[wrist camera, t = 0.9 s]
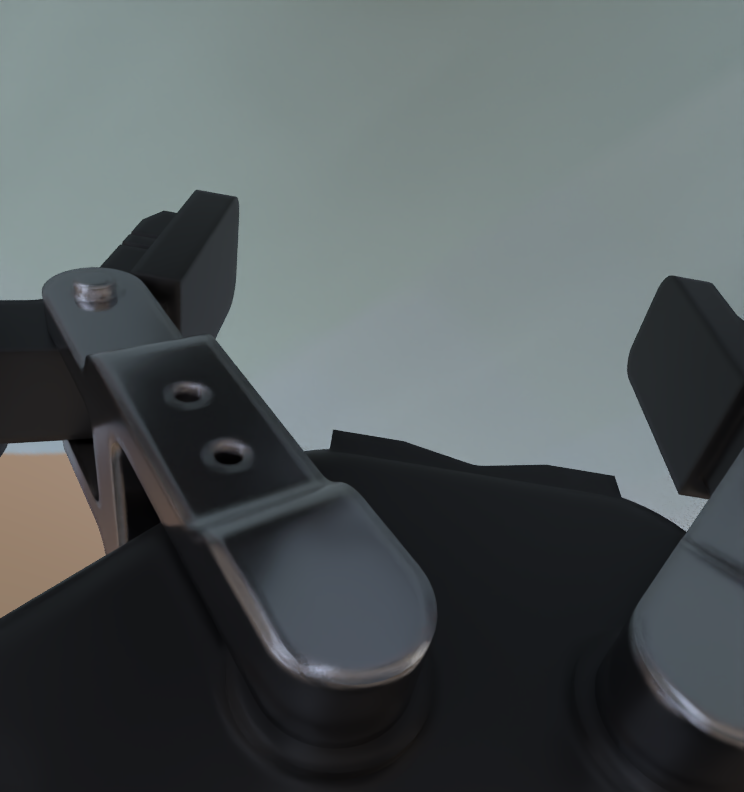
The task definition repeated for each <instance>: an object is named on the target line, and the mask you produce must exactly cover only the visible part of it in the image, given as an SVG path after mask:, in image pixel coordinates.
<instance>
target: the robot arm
mask: <svg viewBox="0 0 744 792" xmlns="http://www.w3.org/2000/svg"><path fill="white" fill-rule="evenodd" d="M238 227H239V201H238V198H237V197H234V196H229V195H223V194H218V193H212V192H206V191H201V190H195V191H194V193H193V194H192V195H191V196H190V198H189V199H188V200H187V201H186V203H185V204H184V205H183V206H182V208H181V209H180V210H179V211H178V213H174V212H168V211H162V212H160V213H157V214H155V215H152V216H150V217H148V218H145V219H143V220H142V221H141V222H140V223H139V224H138V225H137V226H136V227H135V229H134V230H133V231H132V234H129V235H128V236H127V238H126V239H125V240H124V241H123V243H122V245H119V246H118V248H117V249H116V250H115V251H114V252H113V253H112V254H111V255H110V256H109V258H108V259H107V260H106V261H105V262H104V263H103V264H102V265H101V267H89V268H79V269H73V270H69V271H65V272H62V273H60V274H57V275H55V276H53V277H52V278H50V279H49V280H48V281H47V282H46V283H45V284H44V286H43V288H42V298H43V299H39V300H0V457H1V455H2V454H3V452H4V451H5V449H6V447H7V444H8V443H24V442H41V441H58V440H63V446H64V449H65V451H66V454H67V456H68V458H69V461H70V463H71V465H72V467H73V470H74V472H75V474H76V477H77V479H78V481H79V483H80V486H81V488H82V490H83V493H84V495H85V497H86V499H87V502H88V504H89V506H90V508H91V511H92V513H93V515H94V518H95V520H96V522H97V525H98V528H99V531H100V534H101V537H102V541H103V545H104V549H105V554H106V556H104V557H102V558H101V559H99V560H97V561H96V562H94V563H92V564H90V565H89V566H87V567H85V568H84V569H82V570H80V571H79V572H77V573H75V574H74V575H72V576H70V577H69V578H67V579H65V580H64V581H62V582H60V583H59V584H57V585H55V586H54V587H52V588H50V589H48V590H47V591H45V592H44V593H42V594H40V595H38V596H37V597H35V598H33V599H32V600H30V601H28V602H27V603H25V604H23V605H22V606H20V607H18V608H17V609H15V610H13V611H12V612H10V613H8V614H7V615H5V616H3V617H2V618H0V792H744V320H742V319H741V318H740V317H738V316H737V315H736V314H735V312H734V311H733V310H732V308H731V307H730V306H729V304H728V303H727V302H726V300H725V299H724V298H723V297H722V295H721V294H720V293H719V291H718V290H717V289H716V287H715V286H714V285H713V284H712V283H710V282H705V281H700V280H694V279H689V278H683V277H677V276H668V277H667V278H665V279H664V280H663V282H662V283H661V285H660V286H659V288H658V290H657V292H656V294H655V297H654V299H653V301H652V303H651V305H650V307H649V310H648V312H647V314H646V316H645V318H644V321H643V323H642V325H641V327H640V329H639V332H638V334H637V336H636V338H635V340H634V343H633V345H632V347H631V350H630V353H629V357H628V365H627V372H628V378H629V380H630V383H631V385H632V387H633V390H634V392H635V394H636V397H637V399H638V401H639V404H640V406H641V408H642V410H643V413H644V415H645V417H646V420H647V422H648V424H649V427H650V429H651V431H652V433H653V436H654V438H655V440H656V443H657V445H658V447H659V450H660V452H661V454H662V457H663V459H664V461H665V463H666V466H667V468H668V470H669V473H670V475H671V477H672V480H673V482H674V484H675V487H676V489H677V491H678V493H679V495H685V496H692V497H698V498H704V499H709V500H708V501H707V503H706V504H705V506H704V507H703V509H702V510H701V512H700V513H699V515H698V516H697V518H696V519H695V521H694V522H693V524H692V525H691V527H690V528H689V530H688V531H687V532H686V531H684V530H683V529H681V528H680V527H679V526H677V525H676V524H674V523H673V522H671V521H669V520H668V519H666V518H665V517H663V516H661V515H660V514H658V513H656V512H654V511H652V510H650V509H648V508H646V507H644V506H642V505H639V504H637V503H635V502H632V501H630V500H627V499H624V498H622V497H621V494H620V491H619V488H618V485H617V482H616V479H615V476H611V475H605V474H599V473H593V472H587V471H581V470H575V469H569V468H563V467H557V466H551V465H509V466H477V465H472V464H469V463H466V462H463V461H460V460H457V459H454V458H451V457H448V456H445V455H442V454H439V453H436V452H433V451H431V450H428V449H425V448H422V447H419V446H416V445H413V444H410V443H407V442H404V441H399V440H393V439H387V438H381V437H375V436H369V435H362V434H356V433H350V432H344V431H338V430H333V434H332V440H331V446H330V449H322V450H310V451H303V450H302V448H301V447H300V446H299V445H298V443H297V442H296V441H295V439H294V438H293V437H292V436H291V434H290V433H289V432H288V431H287V429H286V428H285V427H284V426H283V424H282V423H281V422H280V420H279V419H278V418H277V417H276V415H275V414H274V413H273V412H272V410H271V409H270V408H269V407H268V405H267V404H266V403H265V402H264V400H263V399H262V398H261V396H260V395H259V394H258V393H257V391H256V390H255V389H254V388H253V386H252V385H251V384H250V383H249V381H248V380H247V379H246V377H245V376H244V375H243V374H242V372H241V371H240V370H239V369H238V367H237V366H236V365H235V364H234V362H233V361H232V360H231V359H230V357H229V356H228V355H227V353H226V352H225V351H224V350H223V348H222V347H221V346H220V345H219V343H218V342H217V341H216V340H215V339H216V337H217V334H218V332H219V330H220V328H221V326H222V324H223V322H224V320H225V318H226V316H227V314H228V312H229V309H230V307H231V304H232V300H233V296H234V290H235V283H236V269H237V248H238Z"/></svg>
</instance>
